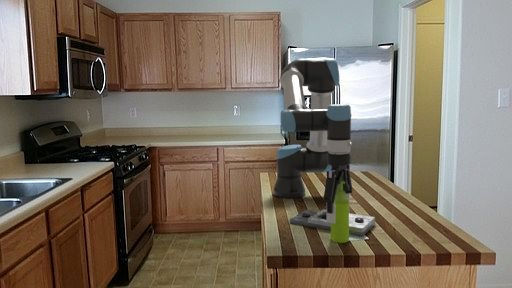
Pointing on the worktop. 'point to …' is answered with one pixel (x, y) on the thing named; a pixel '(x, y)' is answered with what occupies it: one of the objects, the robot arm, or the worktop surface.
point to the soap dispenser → (340, 217)
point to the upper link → (356, 222)
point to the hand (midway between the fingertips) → (338, 217)
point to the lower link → (303, 220)
